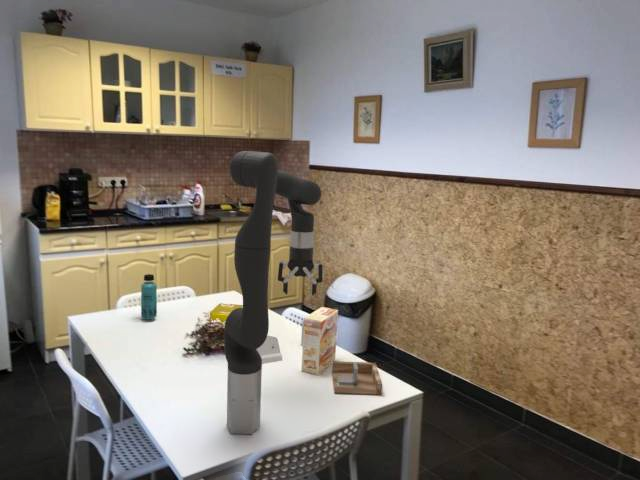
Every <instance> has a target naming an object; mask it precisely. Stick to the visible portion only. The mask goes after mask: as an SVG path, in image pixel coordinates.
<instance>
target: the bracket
mask: <svg viewBox="0 0 640 480" xmlns="http://www.w3.org/2000/svg"><path fill="white" fill-rule="evenodd" d="M352 362H353V373H352V376H344V375H338V385H339V386H357V377H358V366H357V363H354V362H355V361H352Z"/></svg>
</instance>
